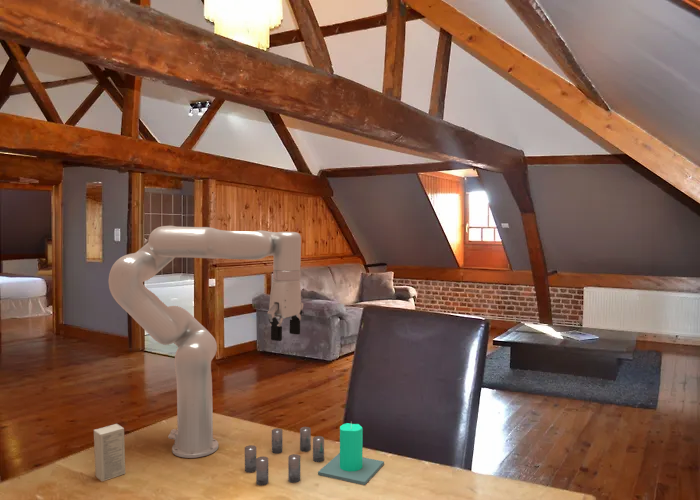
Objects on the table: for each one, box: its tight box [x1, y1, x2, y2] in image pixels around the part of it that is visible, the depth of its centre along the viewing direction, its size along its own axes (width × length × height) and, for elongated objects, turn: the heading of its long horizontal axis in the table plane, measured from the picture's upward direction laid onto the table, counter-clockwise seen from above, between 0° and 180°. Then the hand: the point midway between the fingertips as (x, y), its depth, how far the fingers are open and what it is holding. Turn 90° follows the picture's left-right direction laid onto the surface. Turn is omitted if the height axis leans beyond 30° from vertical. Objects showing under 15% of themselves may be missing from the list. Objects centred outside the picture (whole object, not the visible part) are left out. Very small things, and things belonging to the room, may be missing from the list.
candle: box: [339, 421, 364, 471], centre depth 150 cm, size 6×6×12 cm
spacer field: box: [244, 426, 325, 486], centre depth 153 cm, size 16×25×6 cm, turn 156°
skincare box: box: [93, 423, 126, 482], centre depth 146 cm, size 6×4×12 cm
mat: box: [317, 452, 385, 486], centre depth 151 cm, size 13×13×1 cm
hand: (285, 337), depth 162 cm, fingers open, 9 cm apart
